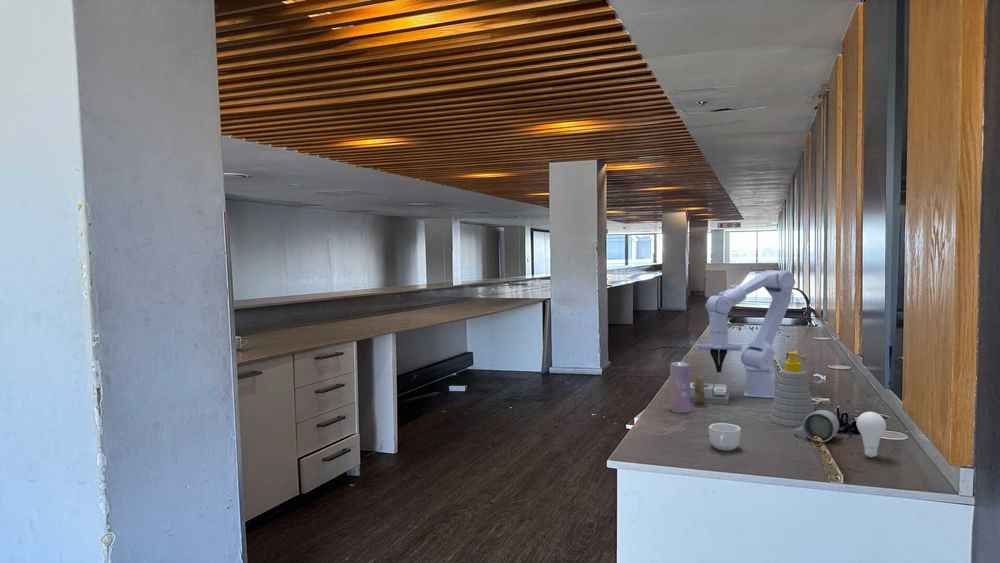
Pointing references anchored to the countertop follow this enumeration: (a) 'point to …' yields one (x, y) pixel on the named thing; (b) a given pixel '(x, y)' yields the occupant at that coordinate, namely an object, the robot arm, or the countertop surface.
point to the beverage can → (680, 387)
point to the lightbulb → (871, 431)
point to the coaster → (699, 406)
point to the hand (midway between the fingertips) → (719, 371)
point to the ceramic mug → (819, 425)
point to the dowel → (699, 390)
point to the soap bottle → (791, 395)
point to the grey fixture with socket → (710, 395)
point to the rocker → (720, 389)
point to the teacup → (724, 436)
